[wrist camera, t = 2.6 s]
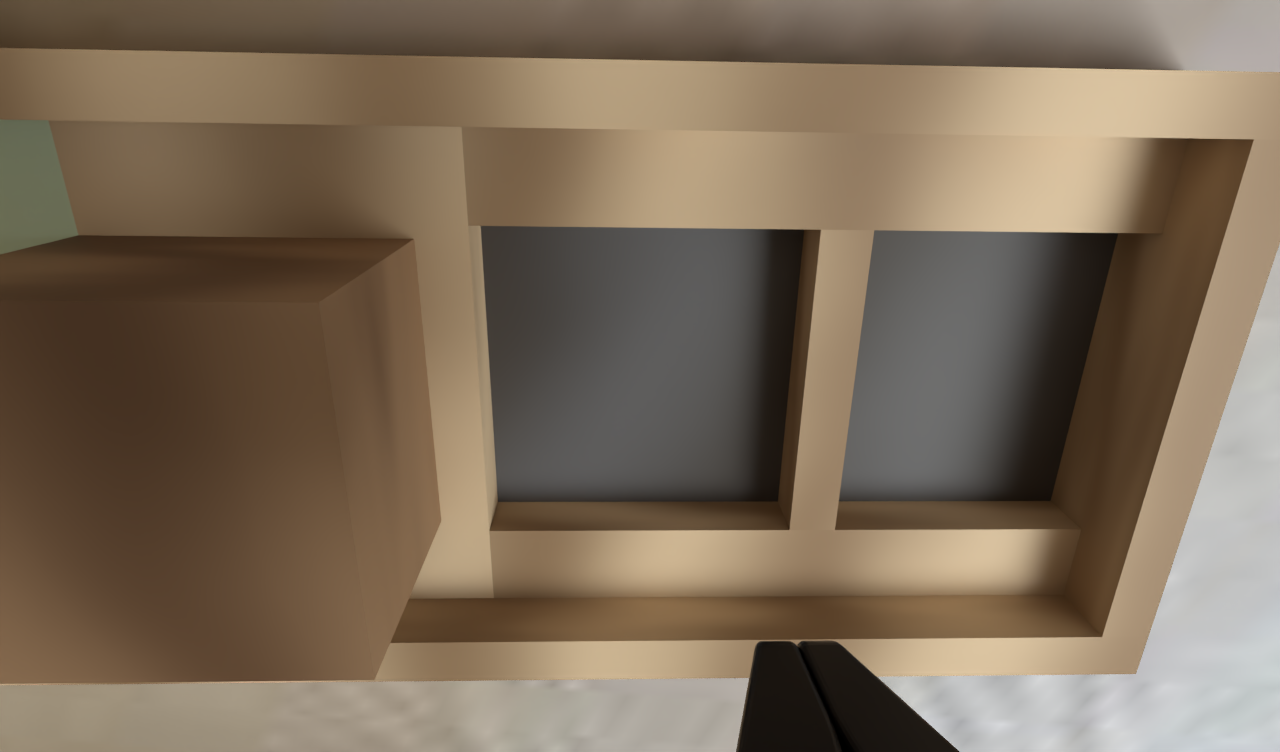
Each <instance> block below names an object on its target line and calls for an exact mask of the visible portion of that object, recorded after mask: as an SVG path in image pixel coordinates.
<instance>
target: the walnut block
mask: <svg viewBox="0 0 1280 752" xmlns="http://www.w3.org/2000/svg"><path fill="white" fill-rule="evenodd" d="M440 523H441V512H440V501H439V491H438V481H437V470H436V460H435V449H434V439H433V429H432V418H431V408H430V397H429V387H428V376H427V366H426V356H425V345H424V335H423V324H422V314H421V304H420V293H419V283H418V272H417V262H416V251H415V241H414V239H382V238H287V237H193V236H99V235H78V236H74V237H69V238H65V239H61V240H57V241H53V242H49V243H45V244H41V245H37V246H33V247H29V248H25V249H20V250H16V251H12V252H8V253H4V254H0V684H37V683H137V682H237V681H338V680H375V678H376V675H377V673H378V671H379V668H380V666H381V664H382V661H383V659H384V656H385V654H386V652H387V649H388V647H389V645H390V642H391V640H392V637H393V635H394V633H395V630H396V628H397V625H398V623H399V621H400V618H401V616H402V614H403V611H404V609H405V606H406V604H407V602H408V599H409V597H410V595H411V592H412V590H413V587H414V585H415V583H416V580H417V578H418V576H419V573H420V571H421V568H422V566H423V564H424V561H425V559H426V557H427V554H428V552H429V549H430V547H431V545H432V542H433V540H434V538H435V535H436V533H437V530H438V528H439V526H440Z"/></svg>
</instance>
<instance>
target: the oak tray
mask: <svg viewBox="0 0 1280 752" xmlns="http://www.w3.org/2000/svg"><path fill="white" fill-rule="evenodd" d="M0 120H48V121H49V125H50V129H51V132H52V136H53V140H54V144H55V148H56V151H57V155H58V159H59V163H60V167H61V171H62V174H63V178H64V182H65V186H66V190H67V193H68V197H69V201H70V205H71V209H72V213H73V216H74V220H75V224H76V228H77V232H78V235H99V236H193V237H287V238H382V239H414V241H415V251H416V262H417V272H418V283H419V293H420V304H421V314H422V324H423V335H424V345H425V356H426V366H427V376H428V387H429V397H430V408H431V418H432V429H433V439H434V449H435V460H436V470H437V481H438V491H439V501H440V512H441V523H440V526H439V528H438V530H437V533H436V535H435V538H434V540H433V542H432V545H431V547H430V549H429V552H428V554H427V557H426V559H425V561H424V564H423V566H422V568H421V571H420V573H419V576H418V578H417V580H416V583H415V585H414V587H413V590H412V592H411V595H410V597H409V599H408V602H407V604H406V606H405V609H404V611H403V614H402V616H401V618H400V621H399V623H398V625H397V628H396V630H395V633H394V635H393V637H392V640H391V642H390V645H389V647H388V649H387V652H386V654H385V656H384V659H383V661H382V664H381V666H380V668H379V671H378V673H377V675H376V678H375V680H338V681H237V682H137V683H37V684H0V685H77V684H177V683H276V682H376V681H476V680H575V679H675V678H749V677H750V672H751V666H752V660H753V655H754V649H755V646H756V644H757V643H758V642H760V641H792V642H793V643H795V644H796V645H797V644H798V643H800V642H801V641H825V640H831V641H836V642H838V643H839V644H841V645H842V646H843V647H845V648H846V649H847V650H848V651H849V652H850V653H851V654H852V655H853V656H854V657H856V658H857V659H858V660H859V661H860V662H861V663H862V664H863V665H864V666H865V667H867V668H868V669H869V670H870V671H871V672H872V673H873V674H874V675H875V676H974V675H1074V674H1136V672H1137V669H1138V666H1139V663H1140V660H1141V657H1142V654H1143V651H1144V648H1145V645H1146V642H1147V639H1148V636H1149V633H1150V630H1151V627H1152V624H1153V621H1154V618H1155V615H1156V612H1157V609H1158V606H1159V603H1160V600H1161V597H1162V594H1163V591H1164V588H1165V585H1166V582H1167V579H1168V576H1169V573H1170V570H1171V567H1172V564H1173V561H1174V558H1175V555H1176V552H1177V549H1178V546H1179V543H1180V540H1181V537H1182V534H1183V531H1184V528H1185V525H1186V522H1187V519H1188V516H1189V513H1190V510H1191V507H1192V504H1193V501H1194V498H1195V495H1196V492H1197V489H1198V486H1199V483H1200V480H1201V477H1202V474H1203V471H1204V468H1205V465H1206V462H1207V459H1208V456H1209V453H1210V450H1211V447H1212V444H1213V441H1214V438H1215V435H1216V432H1217V429H1218V426H1219V423H1220V420H1221V417H1222V414H1223V411H1224V408H1225V405H1226V402H1227V399H1228V396H1229V393H1230V390H1231V387H1232V384H1233V381H1234V378H1235V375H1236V372H1237V369H1238V366H1239V363H1240V360H1241V357H1242V354H1243V351H1244V348H1245V345H1246V342H1247V339H1248V336H1249V333H1250V330H1251V327H1252V324H1253V321H1254V318H1255V315H1256V312H1257V309H1258V306H1259V303H1260V300H1261V297H1262V294H1263V291H1264V288H1265V285H1266V282H1267V279H1268V276H1269V273H1270V270H1271V267H1272V264H1273V261H1274V258H1275V255H1276V252H1277V249H1278V246H1279V243H1280V72H1236V71H1183V70H1131V69H1079V68H1027V67H974V66H922V65H870V64H818V63H765V62H713V61H661V60H609V59H557V58H504V57H452V56H400V55H348V54H295V53H243V52H191V51H139V50H86V49H34V48H0Z"/></svg>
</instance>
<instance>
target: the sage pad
mask: <svg viewBox="0 0 1280 752" xmlns="http://www.w3.org/2000/svg"><path fill="white" fill-rule="evenodd" d="M74 236H78V232H77V228H76V224H75V220H74V216H73V213H72V209H71V205H70V201H69V197H68V193H67V190H66V186H65V182H64V178H63V174H62V171H61V167H60V163H59V159H58V155H57V151H56V148H55V144H54V140H53V136H52V132H51V129H50V125H49V121H48V120H0V254H4V253H8V252H12V251H16V250H20V249H25V248H29V247H33V246H37V245H41V244H45V243H49V242H53V241H57V240H61V239H65V238H69V237H74Z"/></svg>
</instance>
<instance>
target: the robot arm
mask: <svg viewBox="0 0 1280 752" xmlns="http://www.w3.org/2000/svg"><path fill="white" fill-rule="evenodd" d="M736 752H959V751H958V750H957V749H956V748H955V747H954V746H953V745H951V744H950V743H949V742H948V741H947V740H946V739H945V738H944V737H943V736H941V735H940V734H939V733H938V732H937V731H936V730H935V729H934V728H933V727H932V726H930V725H929V724H928V723H927V722H926V721H925V720H924V719H923V718H922V717H921V716H919V715H918V714H917V713H916V712H915V711H914V710H913V709H912V708H911V707H910V706H908V705H907V704H906V703H905V702H904V701H903V700H902V699H901V698H900V697H899V696H897V695H896V694H895V693H894V692H893V691H892V690H891V689H890V688H889V687H888V686H886V685H885V684H884V683H883V682H882V681H881V680H880V679H879V678H878V677H876V676H875V675H874V674H873V673H872V672H871V671H870V670H869V669H868V668H867V667H865V666H864V665H863V664H862V663H861V662H860V661H859V660H858V659H857V658H856V657H854V656H853V655H852V654H851V653H850V652H849V651H848V650H847V649H846V648H845V647H843V646H842V645H841V644H839V643H838V642H836V641H831V640H825V641H801V642H800V643H798V644H797V645H796V644H795V643H793V642H792V641H760V642H758V643H757V644H756V646H755V649H754V655H753V660H752V666H751V672H750V677H749V683H748V688H747V694H746V699H745V705H744V710H743V716H742V722H741V727H740V733H739V738H738V744H737V749H736Z"/></svg>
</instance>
